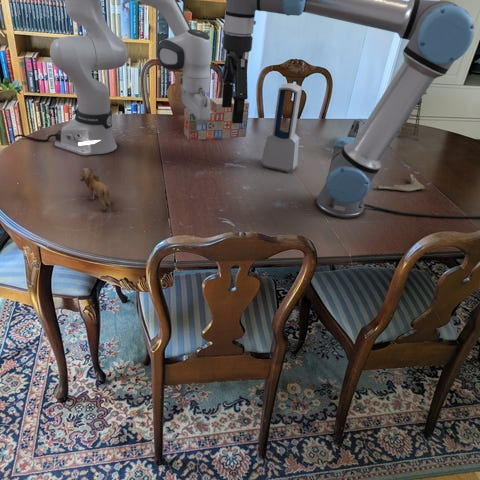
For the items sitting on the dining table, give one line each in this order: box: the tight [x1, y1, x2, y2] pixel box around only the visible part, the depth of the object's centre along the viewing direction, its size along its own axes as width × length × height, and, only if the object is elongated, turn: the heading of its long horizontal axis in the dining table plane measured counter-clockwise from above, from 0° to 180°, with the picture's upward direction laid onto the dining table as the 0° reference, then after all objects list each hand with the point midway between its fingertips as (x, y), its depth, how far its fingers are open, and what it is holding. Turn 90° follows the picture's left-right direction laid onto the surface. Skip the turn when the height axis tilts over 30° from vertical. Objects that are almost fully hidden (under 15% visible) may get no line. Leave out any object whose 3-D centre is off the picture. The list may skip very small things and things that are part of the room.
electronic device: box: [260, 82, 303, 173], centre depth 167 cm, size 12×8×30 cm, turn 71°
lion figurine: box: [77, 167, 116, 211], centre depth 139 cm, size 15×5×9 cm, turn 50°
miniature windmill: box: [398, 91, 428, 140], centre depth 212 cm, size 9×8×30 cm
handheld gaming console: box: [346, 119, 361, 138], centre depth 194 cm, size 23×3×10 cm, turn 161°
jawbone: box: [376, 173, 426, 193], centre depth 169 cm, size 9×20×2 cm, turn 126°
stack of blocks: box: [183, 97, 250, 141], centre depth 162 cm, size 21×6×12 cm, turn 113°
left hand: (194, 125), depth 160 cm, fingers closed on stack of blocks, 6 cm apart
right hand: (231, 114), depth 132 cm, fingers open, 13 cm apart
